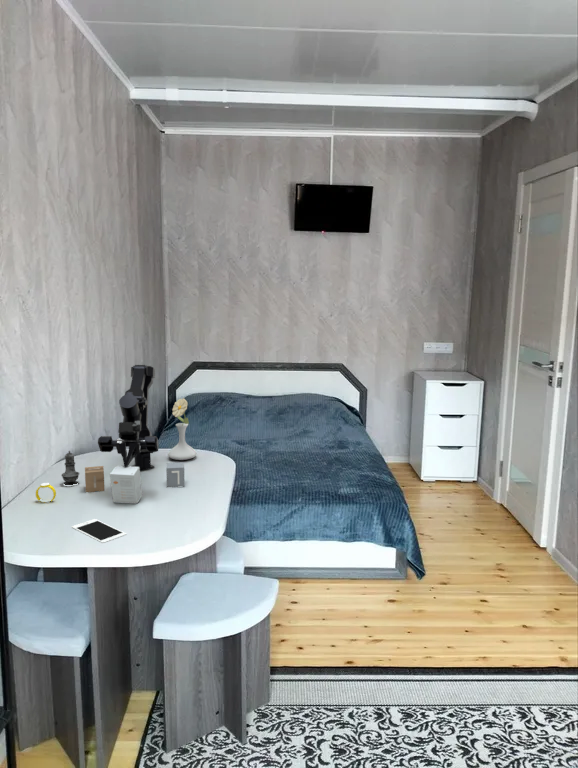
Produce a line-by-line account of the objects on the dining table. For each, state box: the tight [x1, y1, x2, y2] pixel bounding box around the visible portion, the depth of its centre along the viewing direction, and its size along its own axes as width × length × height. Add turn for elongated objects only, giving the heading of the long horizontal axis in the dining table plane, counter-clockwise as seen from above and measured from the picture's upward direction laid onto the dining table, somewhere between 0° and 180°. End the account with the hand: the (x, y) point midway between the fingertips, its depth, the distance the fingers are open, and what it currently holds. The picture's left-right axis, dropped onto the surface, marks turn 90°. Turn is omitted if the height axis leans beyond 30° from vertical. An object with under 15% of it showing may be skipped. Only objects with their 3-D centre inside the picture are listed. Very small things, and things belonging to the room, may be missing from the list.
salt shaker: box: [61, 450, 80, 485], centre depth 208 cm, size 6×6×12 cm
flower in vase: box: [167, 397, 198, 461], centre depth 238 cm, size 13×11×25 cm
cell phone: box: [71, 518, 127, 544], centre depth 171 cm, size 8×16×1 cm, turn 50°
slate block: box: [165, 462, 186, 488], centre depth 210 cm, size 6×6×7 cm
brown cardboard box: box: [84, 465, 105, 493], centre depth 204 cm, size 6×6×7 cm
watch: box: [35, 482, 57, 502], centre depth 192 cm, size 6×3×6 cm, turn 92°
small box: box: [109, 465, 143, 504], centre depth 193 cm, size 8×6×10 cm
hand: (125, 466), depth 192 cm, fingers closed, pressing on small box
